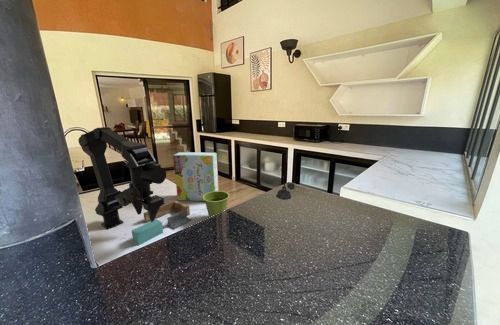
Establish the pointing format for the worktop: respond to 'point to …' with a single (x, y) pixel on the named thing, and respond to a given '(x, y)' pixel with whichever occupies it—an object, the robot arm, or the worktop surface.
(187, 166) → the snack box
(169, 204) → the tan wooden l-shaped piece
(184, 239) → the worktop surface
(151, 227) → the teal rectangular block
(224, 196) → the plant pot
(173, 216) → the bookend
